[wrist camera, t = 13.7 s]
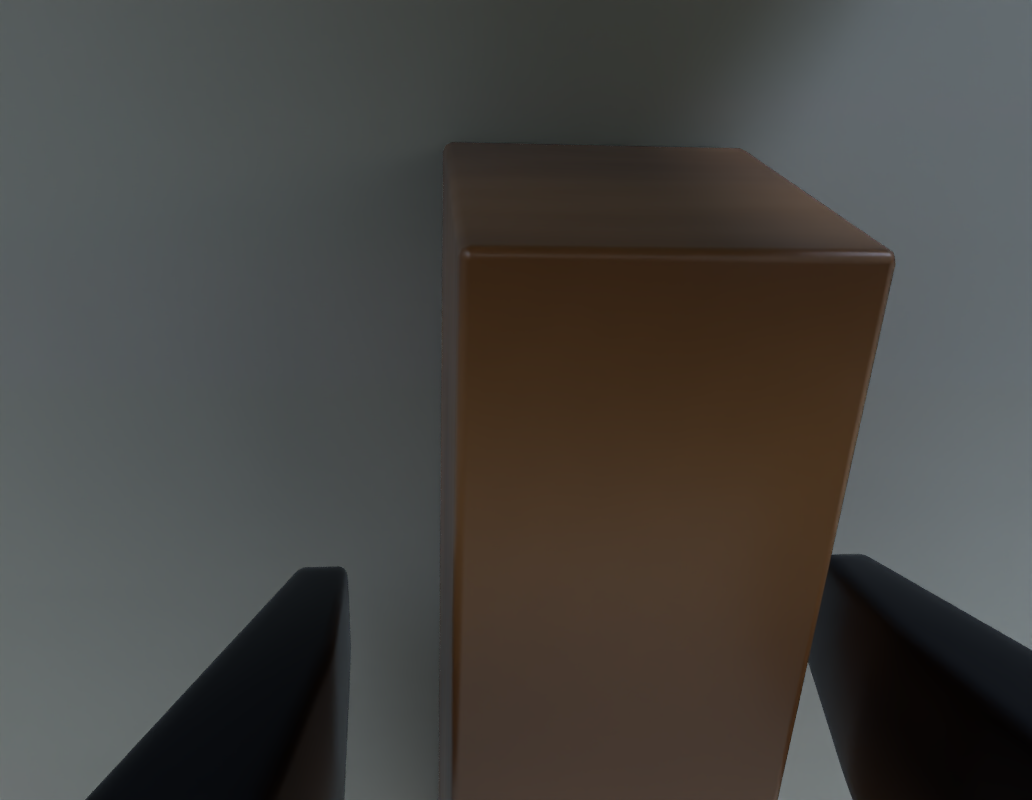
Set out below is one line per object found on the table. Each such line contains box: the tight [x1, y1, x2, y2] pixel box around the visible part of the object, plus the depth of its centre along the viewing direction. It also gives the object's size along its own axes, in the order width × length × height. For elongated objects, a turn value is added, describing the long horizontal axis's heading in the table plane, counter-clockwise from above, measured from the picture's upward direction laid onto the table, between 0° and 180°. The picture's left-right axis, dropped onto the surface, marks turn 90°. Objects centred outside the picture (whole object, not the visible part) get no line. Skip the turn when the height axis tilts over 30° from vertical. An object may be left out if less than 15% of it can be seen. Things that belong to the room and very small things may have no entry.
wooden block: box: [438, 142, 895, 800], centre depth 9 cm, size 8×3×3 cm, turn 178°
